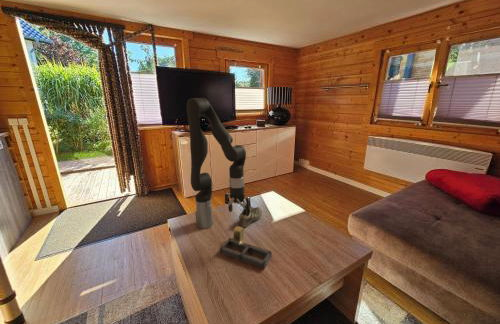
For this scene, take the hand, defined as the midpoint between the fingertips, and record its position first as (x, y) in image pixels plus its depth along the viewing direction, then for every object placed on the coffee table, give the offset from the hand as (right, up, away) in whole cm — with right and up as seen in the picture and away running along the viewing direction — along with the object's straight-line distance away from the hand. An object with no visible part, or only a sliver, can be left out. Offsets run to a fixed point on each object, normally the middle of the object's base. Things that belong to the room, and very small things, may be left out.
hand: (237, 213), depth 112 cm
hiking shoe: (+7, -11, +24) cm, 27 cm away
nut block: (0, -16, +5) cm, 17 cm away
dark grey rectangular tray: (+4, -19, -7) cm, 21 cm away
